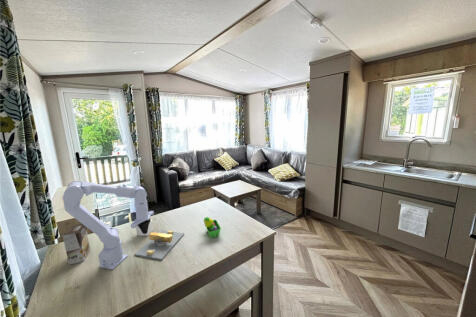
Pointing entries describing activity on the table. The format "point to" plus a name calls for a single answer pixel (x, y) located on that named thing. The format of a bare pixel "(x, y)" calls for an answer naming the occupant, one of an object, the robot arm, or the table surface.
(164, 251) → the base
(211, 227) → the fruit basket
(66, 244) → the coffee box
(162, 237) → the long golden bar
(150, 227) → the medicine bottle
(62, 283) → the table surface
